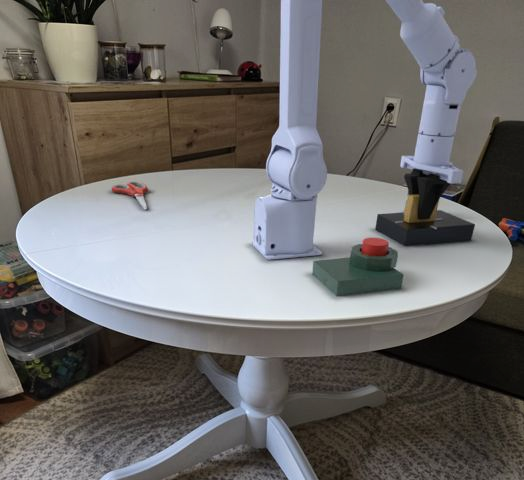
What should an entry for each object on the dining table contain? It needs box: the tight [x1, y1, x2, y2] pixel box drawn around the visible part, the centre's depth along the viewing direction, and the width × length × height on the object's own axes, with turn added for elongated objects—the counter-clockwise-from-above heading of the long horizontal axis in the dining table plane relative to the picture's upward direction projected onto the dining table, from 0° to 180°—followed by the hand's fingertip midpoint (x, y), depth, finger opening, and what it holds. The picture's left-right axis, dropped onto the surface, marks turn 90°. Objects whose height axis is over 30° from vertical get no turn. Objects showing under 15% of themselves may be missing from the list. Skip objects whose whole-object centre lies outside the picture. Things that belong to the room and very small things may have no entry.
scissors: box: [111, 181, 149, 211], centre depth 107 cm, size 8×21×2 cm, turn 35°
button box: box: [311, 243, 405, 297], centre depth 68 cm, size 11×8×4 cm
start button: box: [361, 237, 390, 256], centre depth 68 cm, size 4×4×2 cm
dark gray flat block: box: [374, 209, 476, 247], centre depth 88 cm, size 14×11×3 cm
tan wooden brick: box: [404, 194, 440, 223], centre depth 85 cm, size 6×2×5 cm, turn 109°
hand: (419, 217), depth 86 cm, fingers closed on tan wooden brick, 2 cm apart
